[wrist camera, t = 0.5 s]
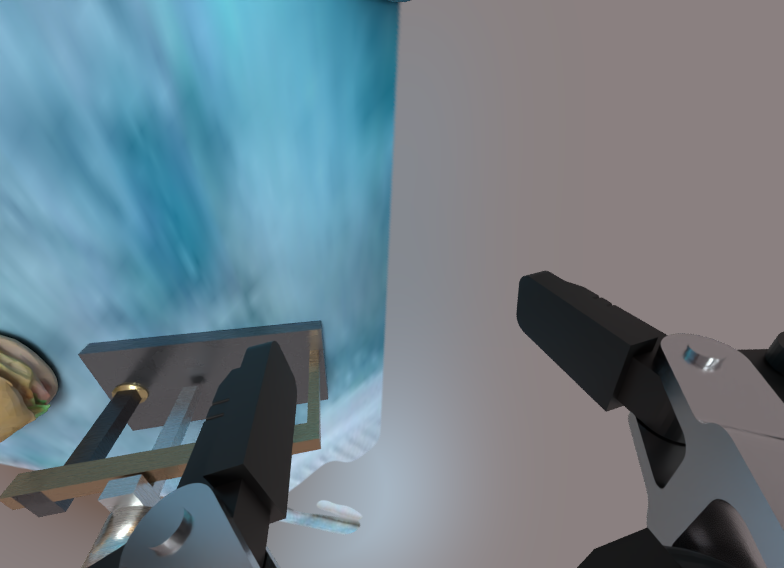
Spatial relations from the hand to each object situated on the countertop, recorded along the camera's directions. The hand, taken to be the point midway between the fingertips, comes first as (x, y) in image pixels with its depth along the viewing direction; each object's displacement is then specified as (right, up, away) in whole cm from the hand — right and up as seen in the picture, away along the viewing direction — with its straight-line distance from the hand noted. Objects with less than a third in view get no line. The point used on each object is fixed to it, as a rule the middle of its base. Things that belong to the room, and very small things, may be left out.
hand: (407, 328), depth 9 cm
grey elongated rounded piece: (-22, -9, +21) cm, 32 cm away
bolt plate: (-20, -9, +23) cm, 32 cm away
